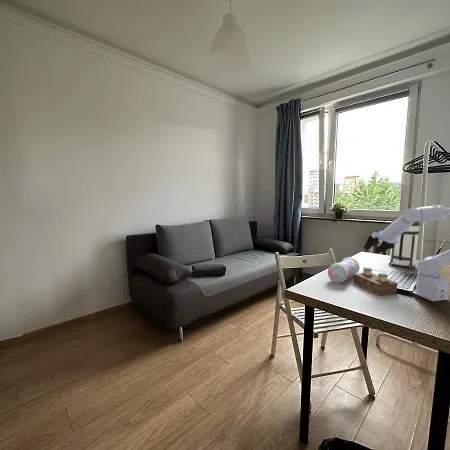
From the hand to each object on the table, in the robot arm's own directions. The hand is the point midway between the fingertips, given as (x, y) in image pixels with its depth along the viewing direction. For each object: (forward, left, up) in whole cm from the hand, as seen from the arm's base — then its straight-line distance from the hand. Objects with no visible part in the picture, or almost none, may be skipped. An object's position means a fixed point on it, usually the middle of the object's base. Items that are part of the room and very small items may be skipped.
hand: (370, 250), depth 112 cm
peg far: (-5, +5, -11) cm, 13 cm away
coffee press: (+14, -37, -15) cm, 42 cm away
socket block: (-9, +5, -15) cm, 18 cm away
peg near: (-12, +5, -11) cm, 18 cm away
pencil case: (+5, +10, -15) cm, 19 cm away
